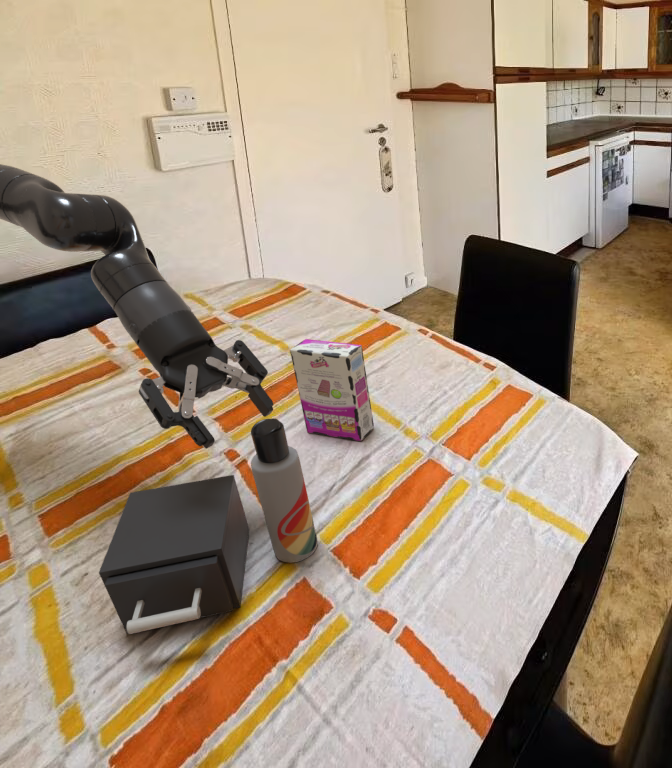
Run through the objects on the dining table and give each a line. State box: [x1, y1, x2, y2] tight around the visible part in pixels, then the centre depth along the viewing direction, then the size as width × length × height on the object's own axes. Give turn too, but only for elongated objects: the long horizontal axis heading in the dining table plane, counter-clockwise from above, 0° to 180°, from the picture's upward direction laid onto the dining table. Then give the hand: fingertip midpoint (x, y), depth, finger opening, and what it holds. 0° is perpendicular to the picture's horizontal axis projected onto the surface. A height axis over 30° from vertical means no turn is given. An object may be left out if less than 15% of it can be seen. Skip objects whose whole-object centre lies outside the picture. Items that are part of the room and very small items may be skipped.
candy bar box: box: [289, 338, 375, 442], centre depth 107 cm, size 11×5×16 cm, turn 73°
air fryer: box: [98, 474, 250, 628], centre depth 78 cm, size 15×13×10 cm
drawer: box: [104, 555, 234, 635], centre depth 75 cm, size 18×11×8 cm, turn 16°
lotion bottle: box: [250, 417, 318, 564], centre depth 80 cm, size 6×6×20 cm
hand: (241, 428), depth 78 cm, fingers open, 8 cm apart
